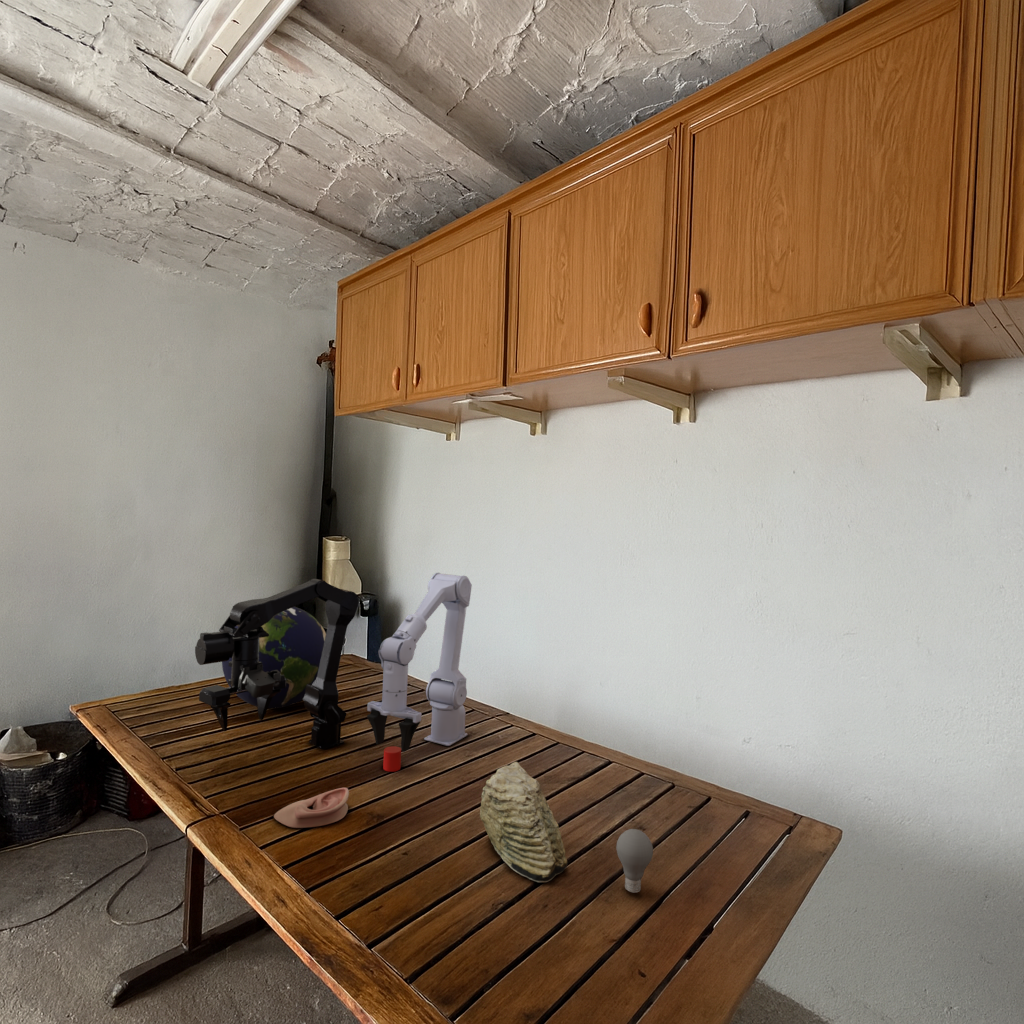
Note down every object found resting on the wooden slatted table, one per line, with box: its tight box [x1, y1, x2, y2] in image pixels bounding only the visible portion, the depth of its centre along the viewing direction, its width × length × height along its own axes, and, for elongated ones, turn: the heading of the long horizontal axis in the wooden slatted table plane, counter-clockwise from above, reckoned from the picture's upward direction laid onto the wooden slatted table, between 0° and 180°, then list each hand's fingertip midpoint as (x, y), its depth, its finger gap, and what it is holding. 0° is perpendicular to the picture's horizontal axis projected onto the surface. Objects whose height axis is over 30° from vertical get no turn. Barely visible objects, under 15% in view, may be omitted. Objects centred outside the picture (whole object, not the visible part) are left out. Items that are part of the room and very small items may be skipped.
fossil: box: [479, 761, 569, 883], centre depth 114 cm, size 9×18×15 cm, turn 46°
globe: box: [221, 606, 326, 709], centre depth 188 cm, size 30×30×30 cm
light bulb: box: [615, 828, 654, 894], centre depth 106 cm, size 6×6×10 cm
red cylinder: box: [382, 745, 402, 773], centre depth 149 cm, size 4×4×4 cm
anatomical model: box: [273, 787, 350, 829], centre depth 126 cm, size 13×4×12 cm
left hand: (243, 725), depth 146 cm, fingers open, 9 cm apart
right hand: (392, 746), depth 149 cm, fingers open, 7 cm apart
